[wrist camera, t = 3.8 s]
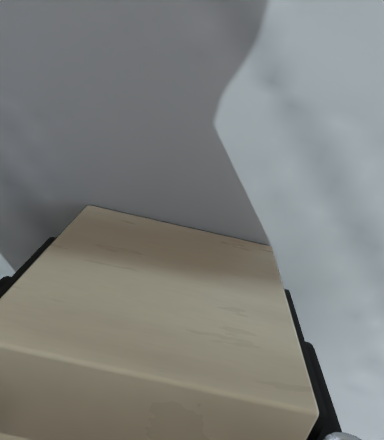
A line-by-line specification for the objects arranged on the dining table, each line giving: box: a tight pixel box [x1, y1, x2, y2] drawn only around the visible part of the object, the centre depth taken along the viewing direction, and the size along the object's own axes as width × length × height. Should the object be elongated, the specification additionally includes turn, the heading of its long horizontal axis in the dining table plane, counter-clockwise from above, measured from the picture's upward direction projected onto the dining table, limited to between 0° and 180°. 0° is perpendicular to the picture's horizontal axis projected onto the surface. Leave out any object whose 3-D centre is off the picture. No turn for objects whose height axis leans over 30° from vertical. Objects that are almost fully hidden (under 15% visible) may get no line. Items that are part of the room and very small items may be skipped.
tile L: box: [0, 205, 319, 440], centre depth 8 cm, size 5×5×5 cm
